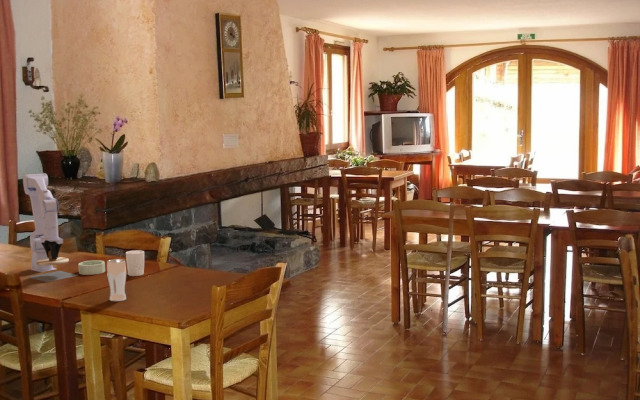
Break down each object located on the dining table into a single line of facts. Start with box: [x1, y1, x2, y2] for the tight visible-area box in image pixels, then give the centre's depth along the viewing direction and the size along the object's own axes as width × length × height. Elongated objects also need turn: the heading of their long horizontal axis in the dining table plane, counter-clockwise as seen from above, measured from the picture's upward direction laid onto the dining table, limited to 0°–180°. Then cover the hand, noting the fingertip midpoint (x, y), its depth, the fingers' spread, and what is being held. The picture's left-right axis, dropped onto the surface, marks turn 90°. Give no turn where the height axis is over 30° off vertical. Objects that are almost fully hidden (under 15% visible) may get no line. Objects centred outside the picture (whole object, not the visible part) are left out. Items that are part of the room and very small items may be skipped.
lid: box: [37, 251, 70, 266], centre depth 307 cm, size 13×13×5 cm
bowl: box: [78, 259, 106, 276], centre depth 316 cm, size 11×11×4 cm
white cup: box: [125, 249, 145, 277], centre depth 312 cm, size 8×8×10 cm
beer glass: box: [106, 258, 127, 303], centre depth 271 cm, size 7×7×15 cm
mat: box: [28, 270, 80, 283], centre depth 309 cm, size 15×15×1 cm
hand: (52, 258), depth 308 cm, fingers closed on lid, 3 cm apart
